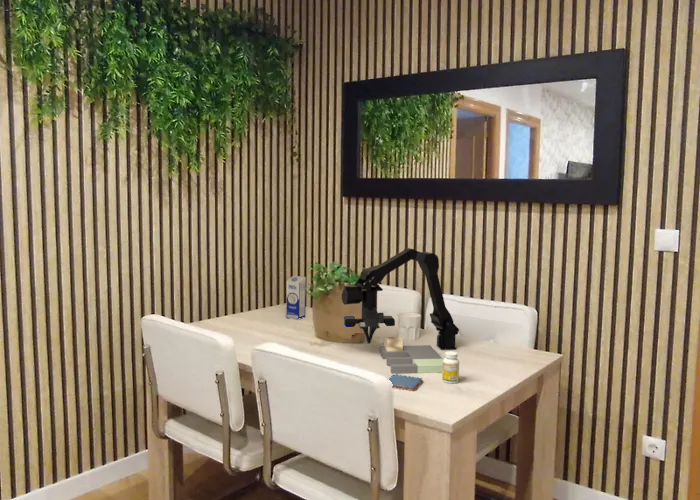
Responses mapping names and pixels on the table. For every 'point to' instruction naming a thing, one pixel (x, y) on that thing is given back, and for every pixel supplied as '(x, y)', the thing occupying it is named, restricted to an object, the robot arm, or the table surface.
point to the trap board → (413, 359)
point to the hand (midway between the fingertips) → (368, 343)
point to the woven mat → (405, 382)
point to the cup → (409, 325)
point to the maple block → (393, 344)
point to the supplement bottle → (450, 368)
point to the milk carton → (296, 297)
